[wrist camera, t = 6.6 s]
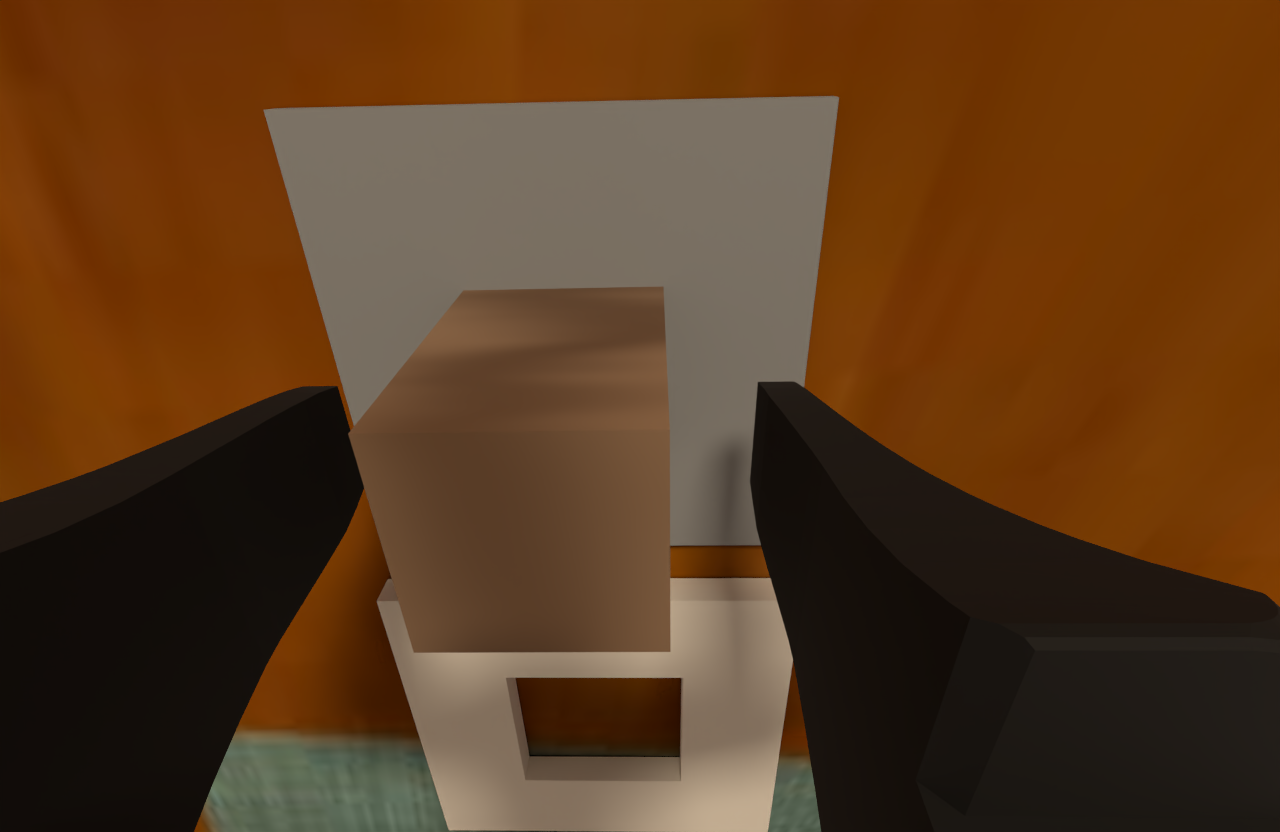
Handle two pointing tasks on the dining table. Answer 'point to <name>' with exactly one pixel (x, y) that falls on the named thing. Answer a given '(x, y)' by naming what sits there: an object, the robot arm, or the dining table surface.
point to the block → (528, 474)
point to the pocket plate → (612, 786)
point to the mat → (579, 244)
